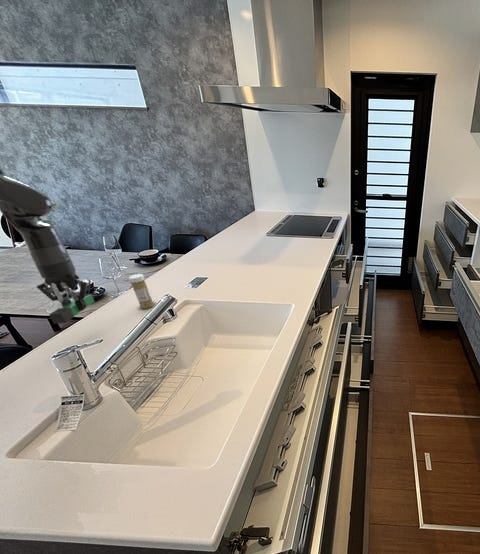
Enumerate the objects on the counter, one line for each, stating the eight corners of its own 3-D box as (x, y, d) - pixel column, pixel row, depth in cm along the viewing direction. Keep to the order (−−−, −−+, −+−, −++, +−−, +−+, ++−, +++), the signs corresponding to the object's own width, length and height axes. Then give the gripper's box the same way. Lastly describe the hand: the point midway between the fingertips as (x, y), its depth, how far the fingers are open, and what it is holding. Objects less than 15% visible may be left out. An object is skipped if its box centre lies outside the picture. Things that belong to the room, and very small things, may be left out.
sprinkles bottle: (156, 303, 124) (145, 273, 118) (150, 308, 119) (138, 278, 114) (144, 303, 123) (133, 273, 118) (137, 309, 119) (125, 278, 114)
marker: (84, 302, 102) (80, 293, 101) (95, 301, 103) (91, 293, 101) (53, 323, 90) (48, 314, 89) (65, 322, 91) (61, 313, 89)
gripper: (14, 266, 85) (42, 318, 93) (69, 262, 87) (93, 314, 94) (36, 257, 92) (61, 306, 99) (87, 254, 94) (108, 302, 101)
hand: (77, 309), depth 97 cm, fingers closed on marker, 2 cm apart
